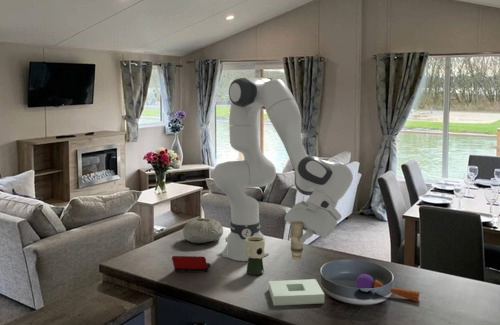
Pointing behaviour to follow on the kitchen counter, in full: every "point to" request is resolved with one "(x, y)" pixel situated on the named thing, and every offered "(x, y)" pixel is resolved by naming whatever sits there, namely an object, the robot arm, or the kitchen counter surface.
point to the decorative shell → (202, 230)
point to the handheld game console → (190, 264)
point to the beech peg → (296, 239)
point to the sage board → (296, 292)
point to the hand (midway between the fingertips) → (295, 239)
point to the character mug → (255, 254)
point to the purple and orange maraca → (368, 282)
